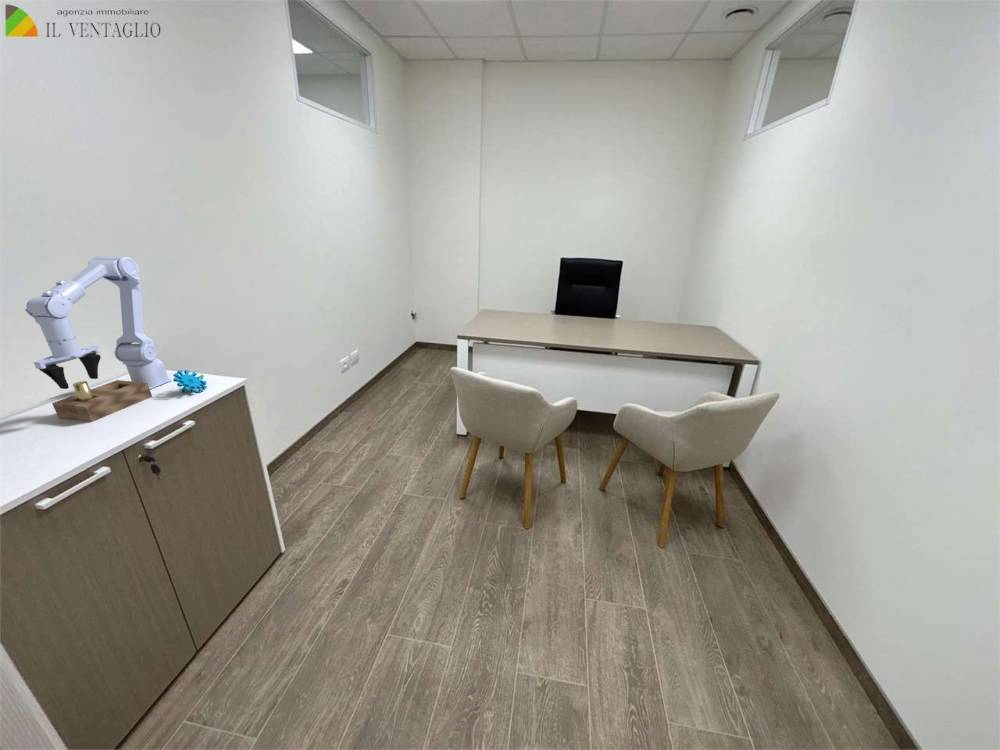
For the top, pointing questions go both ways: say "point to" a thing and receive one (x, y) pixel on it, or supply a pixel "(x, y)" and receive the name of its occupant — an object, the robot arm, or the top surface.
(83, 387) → the peg
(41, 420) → the top surface
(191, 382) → the gear
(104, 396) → the hole block
